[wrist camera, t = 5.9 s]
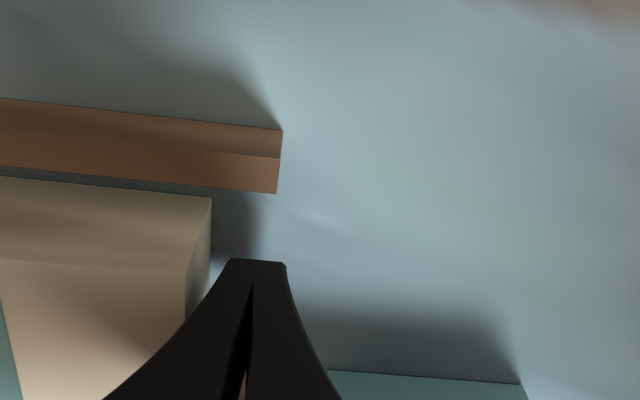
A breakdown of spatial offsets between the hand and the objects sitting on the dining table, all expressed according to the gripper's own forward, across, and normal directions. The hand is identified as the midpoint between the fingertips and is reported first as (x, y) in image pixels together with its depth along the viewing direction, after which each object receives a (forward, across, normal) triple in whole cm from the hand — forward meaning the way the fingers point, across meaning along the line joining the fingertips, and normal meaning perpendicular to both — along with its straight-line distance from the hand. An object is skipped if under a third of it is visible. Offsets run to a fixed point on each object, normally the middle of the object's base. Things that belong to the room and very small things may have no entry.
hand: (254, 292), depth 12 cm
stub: (+1, +4, 0) cm, 4 cm away
